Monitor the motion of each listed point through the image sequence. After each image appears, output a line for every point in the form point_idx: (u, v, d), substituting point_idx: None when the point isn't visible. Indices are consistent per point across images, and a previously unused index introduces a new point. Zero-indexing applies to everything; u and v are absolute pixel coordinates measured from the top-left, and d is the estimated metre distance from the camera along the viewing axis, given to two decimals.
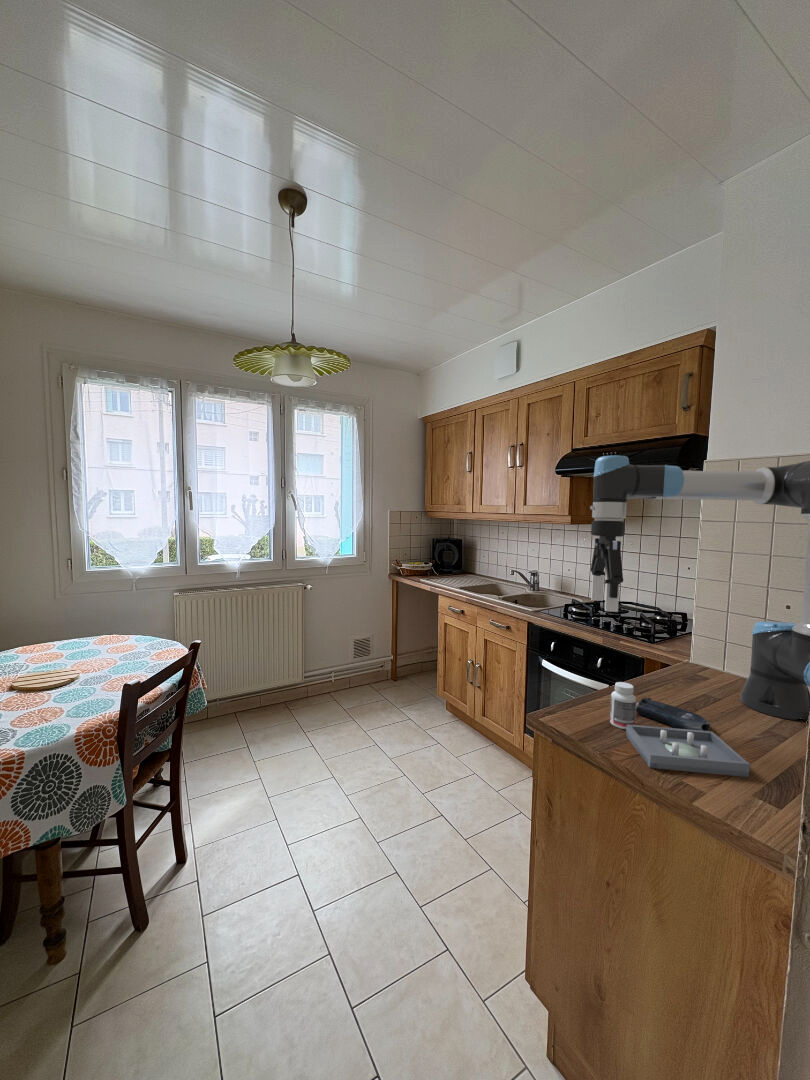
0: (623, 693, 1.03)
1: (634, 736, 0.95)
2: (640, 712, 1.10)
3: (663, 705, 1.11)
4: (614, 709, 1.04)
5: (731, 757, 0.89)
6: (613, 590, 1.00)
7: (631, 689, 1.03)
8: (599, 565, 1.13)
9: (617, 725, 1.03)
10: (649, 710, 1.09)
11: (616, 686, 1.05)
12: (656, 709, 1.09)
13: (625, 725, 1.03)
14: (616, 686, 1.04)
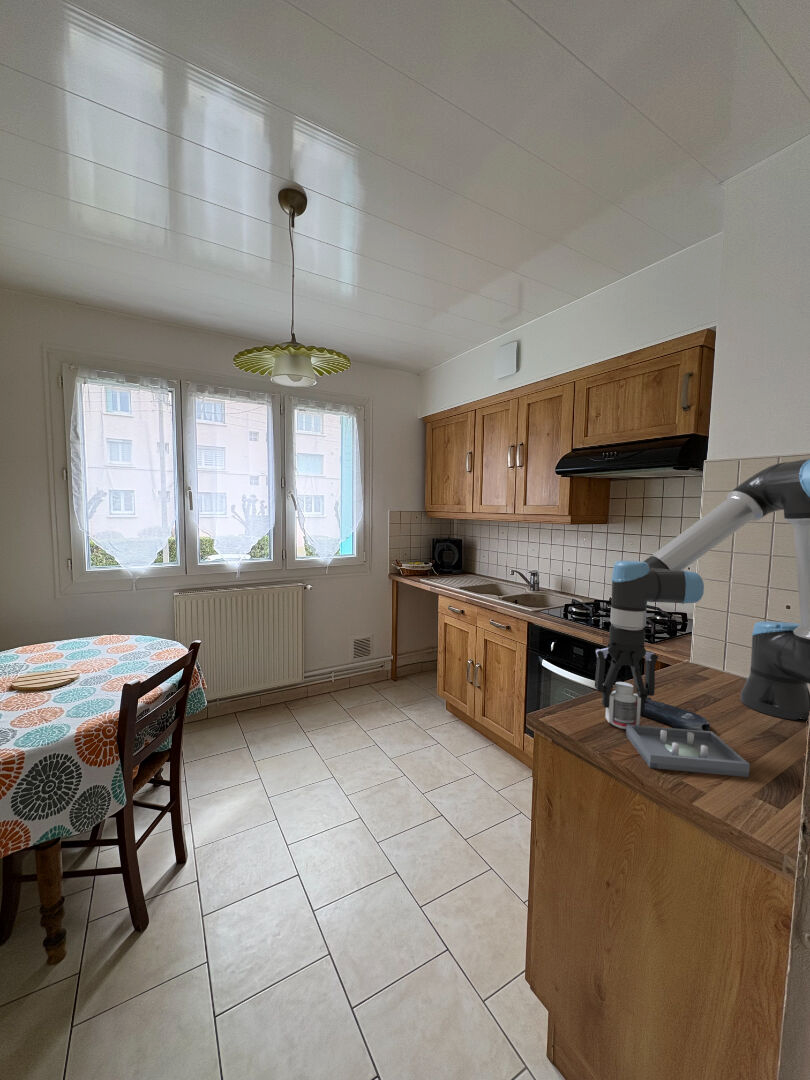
0: (623, 693, 1.03)
1: (634, 736, 0.95)
2: (640, 712, 1.10)
3: (663, 705, 1.11)
4: (614, 709, 1.04)
5: (731, 757, 0.89)
6: (603, 698, 1.06)
7: (631, 689, 1.03)
8: (635, 679, 1.05)
9: (617, 725, 1.03)
10: (649, 710, 1.09)
11: (616, 686, 1.05)
12: (656, 709, 1.09)
13: (625, 725, 1.03)
14: (616, 686, 1.04)
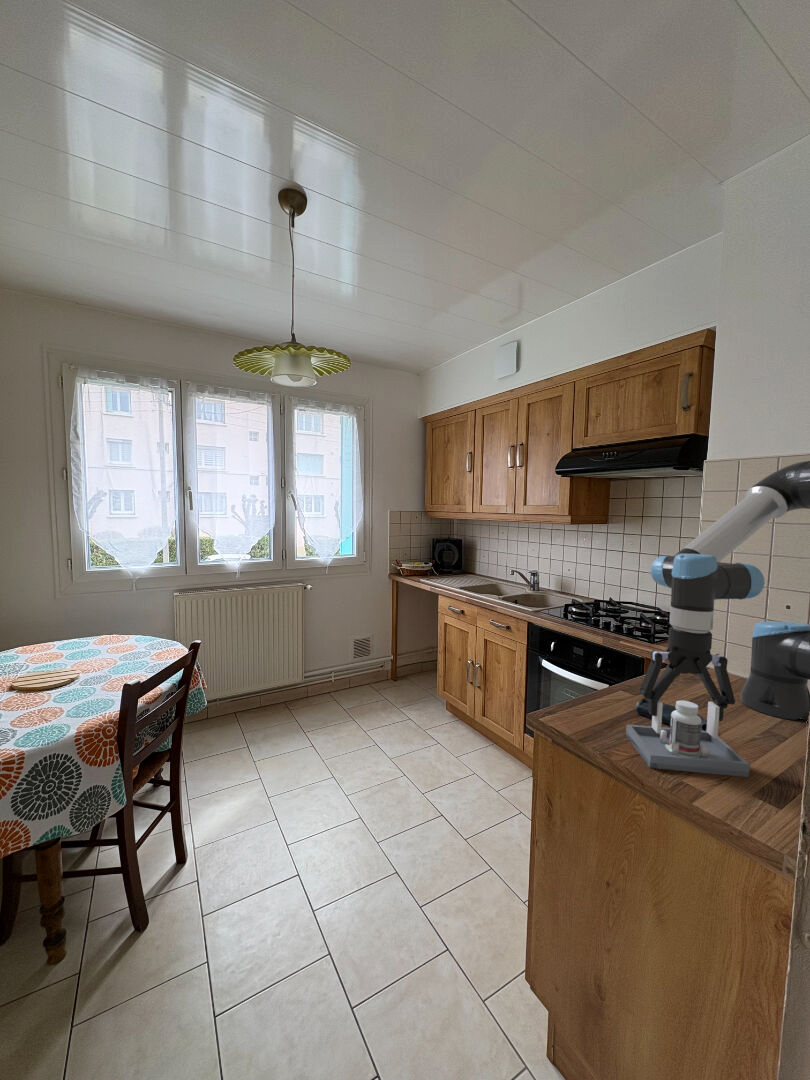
0: (687, 714, 0.90)
1: (634, 736, 0.95)
2: (640, 712, 1.10)
3: (663, 705, 1.11)
4: (676, 732, 0.91)
5: (731, 757, 0.89)
6: (649, 705, 0.93)
7: (696, 709, 0.90)
8: (707, 687, 0.91)
9: (680, 750, 0.90)
10: None
11: (678, 705, 0.92)
12: None
13: (690, 751, 0.89)
14: (678, 705, 0.92)
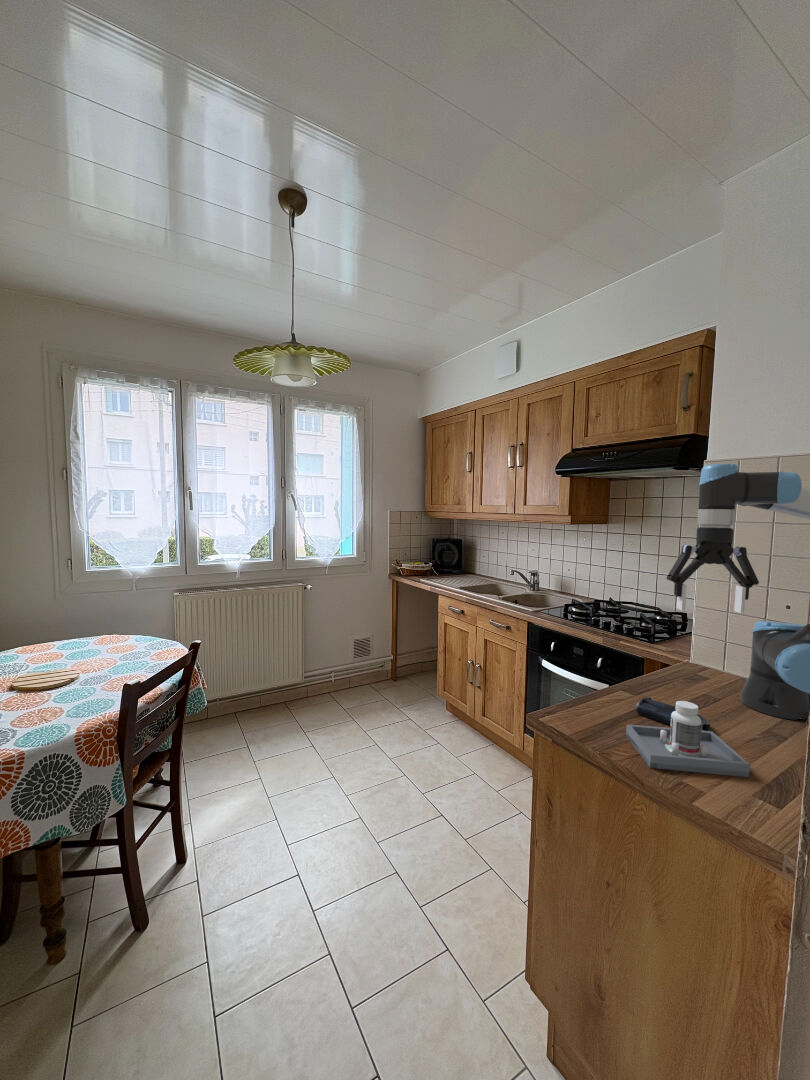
0: (688, 714, 0.90)
1: (634, 736, 0.95)
2: (640, 712, 1.10)
3: (663, 705, 1.11)
4: (676, 733, 0.91)
5: (731, 757, 0.89)
6: (675, 589, 1.12)
7: (696, 710, 0.90)
8: (733, 574, 1.10)
9: (680, 751, 0.90)
10: (649, 710, 1.09)
11: (678, 706, 0.91)
12: (656, 709, 1.09)
13: (690, 751, 0.89)
14: (678, 706, 0.91)
